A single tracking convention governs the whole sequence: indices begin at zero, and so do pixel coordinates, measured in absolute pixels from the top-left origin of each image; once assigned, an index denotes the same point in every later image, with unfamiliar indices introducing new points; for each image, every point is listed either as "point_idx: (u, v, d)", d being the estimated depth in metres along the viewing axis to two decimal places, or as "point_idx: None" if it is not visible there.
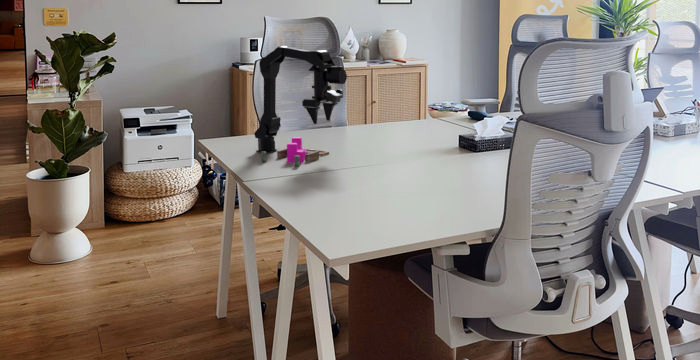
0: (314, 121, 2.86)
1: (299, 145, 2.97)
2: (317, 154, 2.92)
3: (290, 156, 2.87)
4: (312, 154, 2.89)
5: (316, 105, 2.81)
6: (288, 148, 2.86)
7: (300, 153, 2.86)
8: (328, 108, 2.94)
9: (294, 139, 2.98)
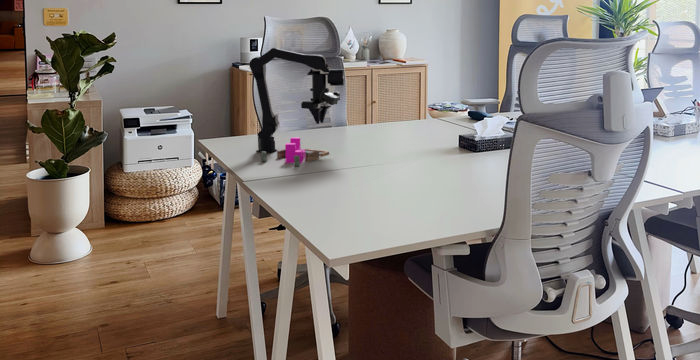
0: (317, 121, 3.03)
1: (298, 145, 2.97)
2: (317, 154, 2.92)
3: (288, 156, 2.86)
4: (312, 154, 2.89)
5: (314, 107, 2.95)
6: (286, 148, 2.86)
7: (298, 153, 2.86)
8: (321, 111, 3.05)
9: (293, 139, 2.98)
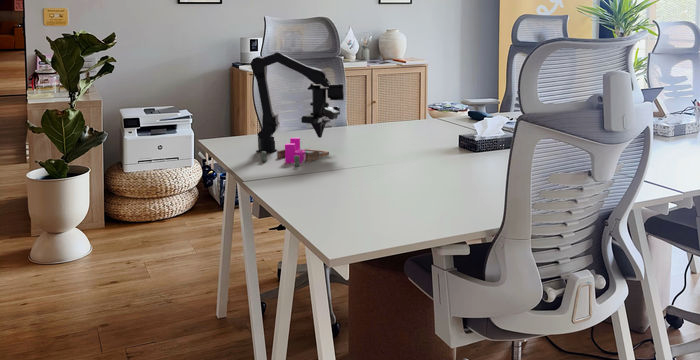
0: (318, 135, 3.05)
1: (297, 145, 2.97)
2: (317, 154, 2.92)
3: (288, 156, 2.86)
4: (312, 154, 2.89)
5: (314, 122, 2.96)
6: (286, 148, 2.85)
7: (298, 153, 2.85)
8: None
9: (292, 139, 2.97)
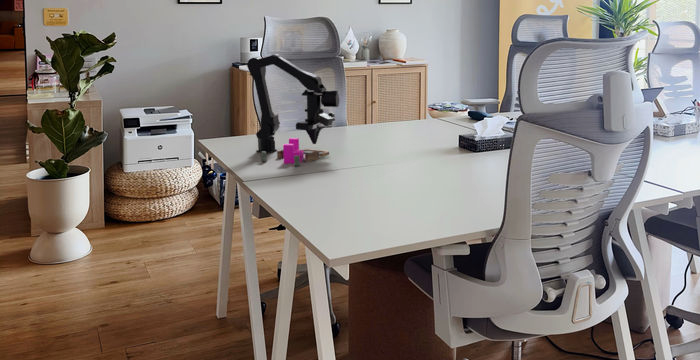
0: (313, 141, 3.02)
1: (296, 146, 2.96)
2: (317, 154, 2.92)
3: (286, 157, 2.85)
4: (312, 154, 2.89)
5: (309, 128, 2.93)
6: (284, 149, 2.84)
7: (297, 154, 2.84)
8: None
9: (291, 140, 2.96)
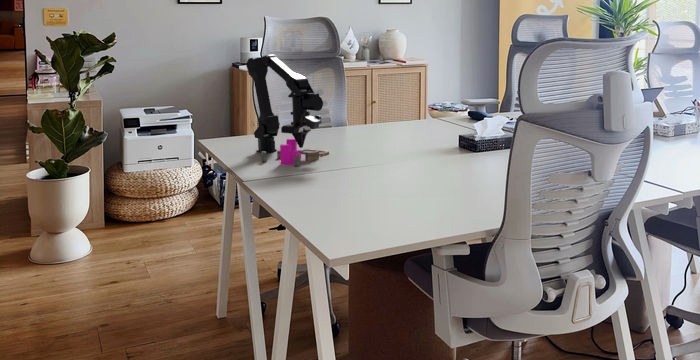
0: (300, 145, 2.94)
1: (294, 146, 2.94)
2: (317, 154, 2.92)
3: (283, 157, 2.84)
4: (312, 154, 2.89)
5: (295, 131, 2.85)
6: (281, 149, 2.83)
7: (293, 154, 2.83)
8: None
9: (289, 140, 2.95)
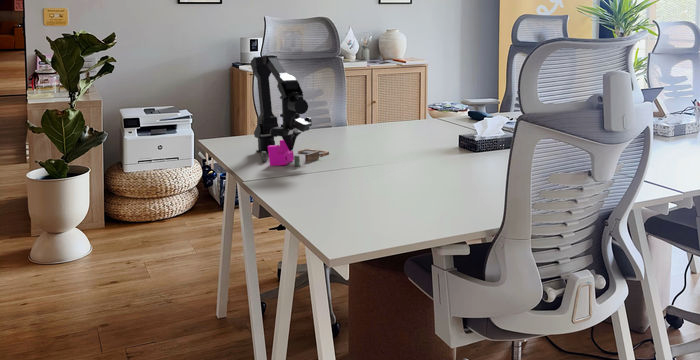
0: (289, 148, 2.88)
1: (286, 147, 2.92)
2: (317, 154, 2.92)
3: (272, 158, 2.81)
4: (312, 154, 2.89)
5: (284, 134, 2.79)
6: (269, 150, 2.81)
7: (281, 155, 2.80)
8: None
9: (282, 141, 2.93)
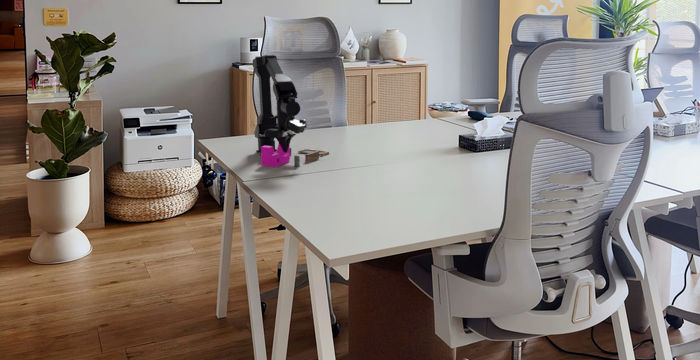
0: (284, 150, 2.86)
1: None
2: (317, 154, 2.92)
3: (264, 159, 2.81)
4: (312, 154, 2.89)
5: (278, 136, 2.76)
6: (262, 151, 2.81)
7: (273, 157, 2.79)
8: None
9: None
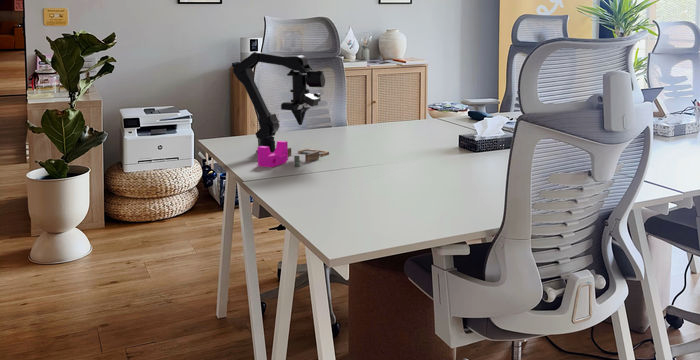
0: (299, 122, 3.01)
1: (282, 149, 2.89)
2: (317, 154, 2.92)
3: (260, 159, 2.81)
4: (312, 154, 2.89)
5: (294, 108, 2.91)
6: (258, 151, 2.80)
7: (268, 157, 2.79)
8: None
9: (279, 142, 2.91)
